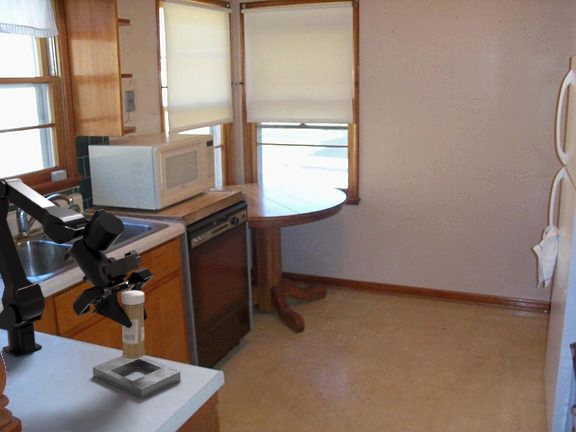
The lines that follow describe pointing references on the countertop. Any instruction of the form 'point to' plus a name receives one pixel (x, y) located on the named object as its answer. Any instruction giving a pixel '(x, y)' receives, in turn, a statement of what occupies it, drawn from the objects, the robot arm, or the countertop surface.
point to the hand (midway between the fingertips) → (138, 323)
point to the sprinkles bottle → (133, 324)
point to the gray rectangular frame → (141, 386)
